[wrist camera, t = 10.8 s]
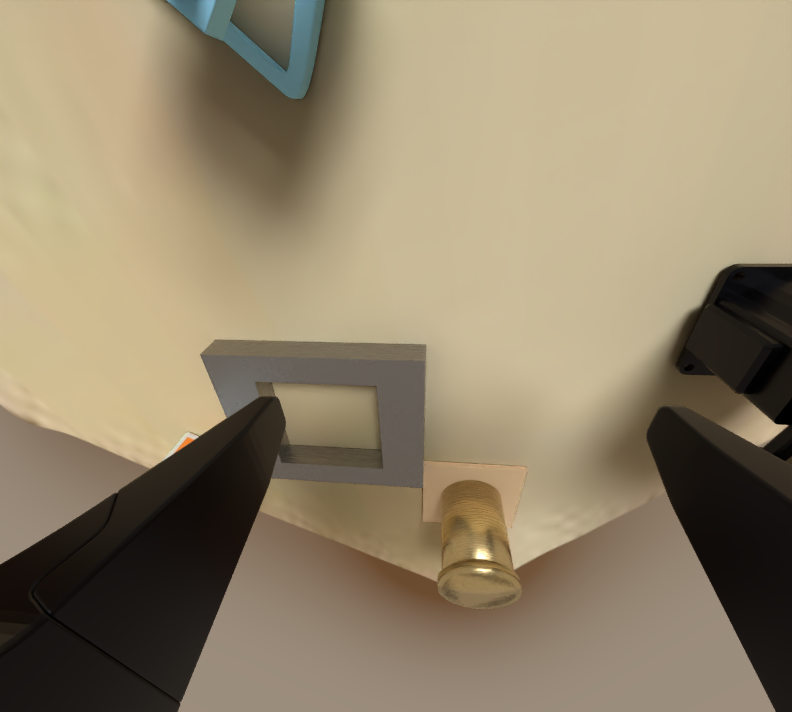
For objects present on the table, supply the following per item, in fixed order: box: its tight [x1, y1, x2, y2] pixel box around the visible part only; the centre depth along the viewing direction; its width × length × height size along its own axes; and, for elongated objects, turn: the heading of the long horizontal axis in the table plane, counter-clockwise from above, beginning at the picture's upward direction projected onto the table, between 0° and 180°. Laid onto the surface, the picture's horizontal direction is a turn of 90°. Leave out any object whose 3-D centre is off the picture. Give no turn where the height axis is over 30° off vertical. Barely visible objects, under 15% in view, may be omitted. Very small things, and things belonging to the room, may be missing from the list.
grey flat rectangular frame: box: [200, 340, 426, 488], centre depth 25 cm, size 14×12×2 cm
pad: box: [423, 461, 527, 528], centre depth 29 cm, size 8×8×1 cm
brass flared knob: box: [438, 480, 522, 609], centre depth 26 cm, size 6×6×7 cm
